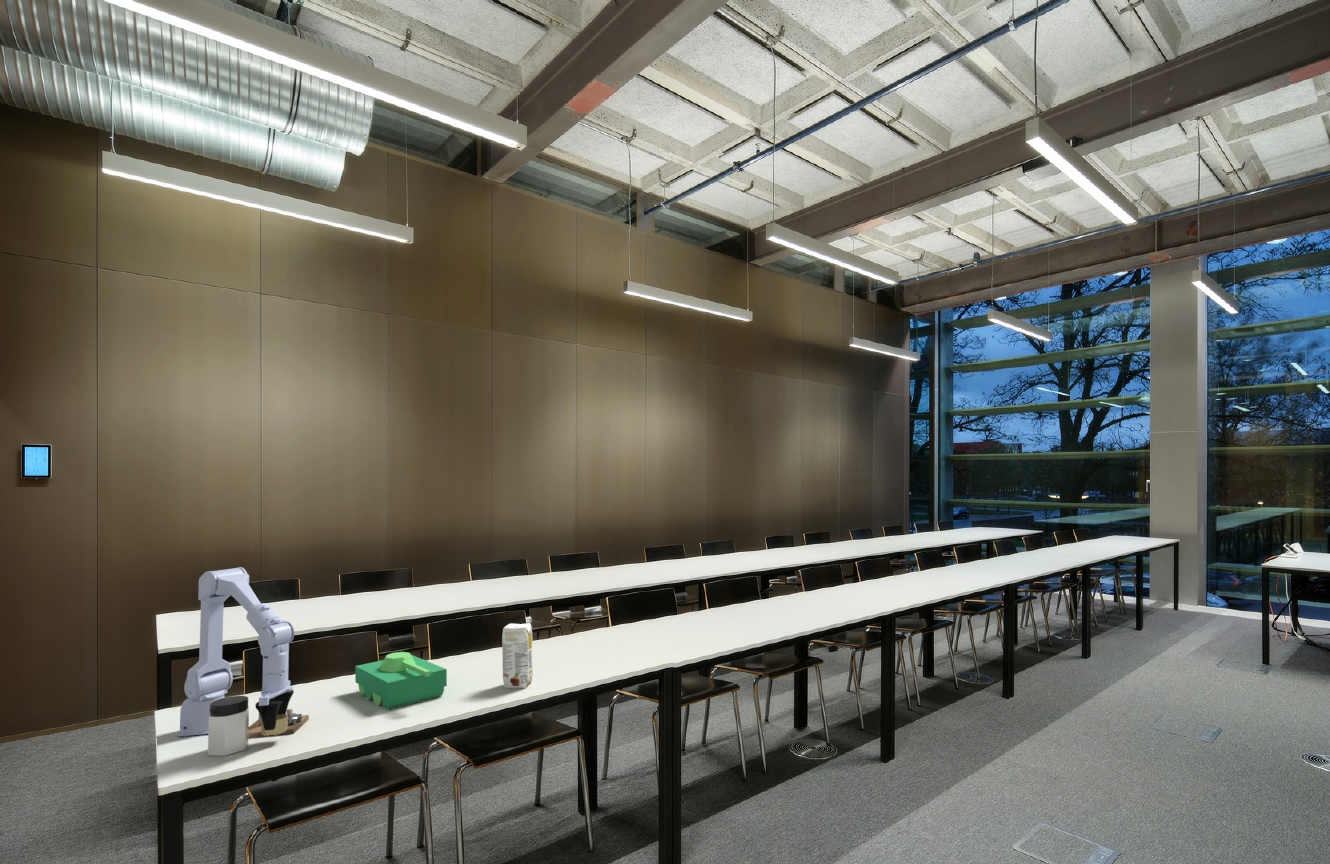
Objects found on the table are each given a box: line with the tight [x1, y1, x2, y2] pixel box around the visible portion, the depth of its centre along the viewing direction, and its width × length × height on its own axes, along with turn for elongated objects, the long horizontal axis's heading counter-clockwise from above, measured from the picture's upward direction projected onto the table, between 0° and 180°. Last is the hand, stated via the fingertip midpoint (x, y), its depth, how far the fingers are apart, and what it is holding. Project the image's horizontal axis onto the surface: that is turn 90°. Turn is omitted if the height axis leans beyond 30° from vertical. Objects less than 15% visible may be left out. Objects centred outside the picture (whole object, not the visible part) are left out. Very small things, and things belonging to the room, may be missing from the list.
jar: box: [207, 695, 250, 757], centre depth 165 cm, size 9×8×12 cm
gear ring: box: [261, 713, 288, 737], centre depth 168 cm, size 5×5×4 cm
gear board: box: [248, 708, 310, 739], centre depth 178 cm, size 13×11×5 cm
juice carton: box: [501, 622, 534, 689], centre depth 210 cm, size 8×9×19 cm
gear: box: [288, 712, 302, 726], centre depth 179 cm, size 6×6×2 cm
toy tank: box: [354, 651, 448, 711], centre depth 202 cm, size 18×12×35 cm
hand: (274, 725), depth 168 cm, fingers closed on gear ring, 5 cm apart
